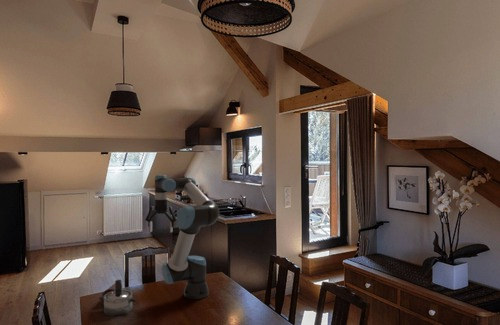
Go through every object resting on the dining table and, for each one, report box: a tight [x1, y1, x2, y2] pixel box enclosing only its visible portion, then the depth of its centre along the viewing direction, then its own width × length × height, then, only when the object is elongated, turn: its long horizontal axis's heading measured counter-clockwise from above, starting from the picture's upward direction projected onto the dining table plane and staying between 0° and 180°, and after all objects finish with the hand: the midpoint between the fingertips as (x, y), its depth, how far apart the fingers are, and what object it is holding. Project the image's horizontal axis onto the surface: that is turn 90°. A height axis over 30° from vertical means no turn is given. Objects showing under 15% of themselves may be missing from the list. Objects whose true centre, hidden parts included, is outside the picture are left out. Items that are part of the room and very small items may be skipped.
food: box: [101, 283, 115, 304], centre depth 206 cm, size 21×9×9 cm, turn 14°
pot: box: [99, 289, 138, 317], centre depth 190 cm, size 21×15×8 cm
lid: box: [108, 279, 129, 300], centre depth 190 cm, size 11×11×9 cm
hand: (161, 232), depth 222 cm, fingers open, 13 cm apart
